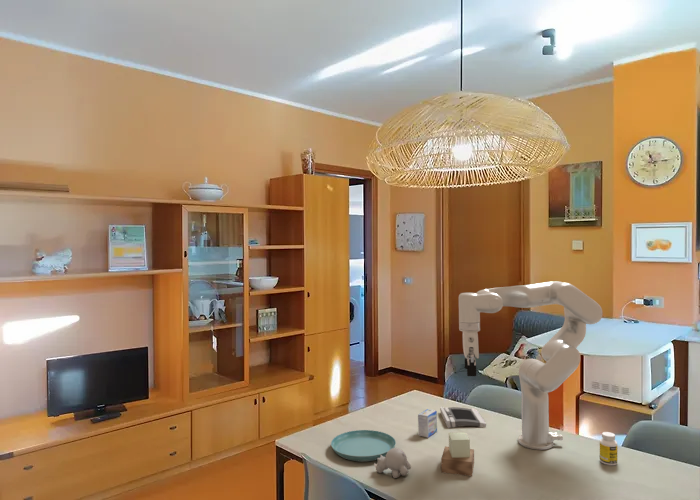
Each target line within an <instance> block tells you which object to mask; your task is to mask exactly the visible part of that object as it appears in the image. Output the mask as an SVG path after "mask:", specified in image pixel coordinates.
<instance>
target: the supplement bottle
mask: <svg viewBox="0 0 700 500" xmlns="http://www.w3.org/2000/svg"><path fill="white" fill-rule="evenodd" d="M601 437H602V438H600V440H599V462H601V463H602V464H604V465H605V466H616V465H617V464H618V442H617V440H616V434H615V433H613V432H610V431H603V432H602V433H601Z"/></svg>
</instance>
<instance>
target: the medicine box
mask: <svg viewBox="0 0 700 500" xmlns="http://www.w3.org/2000/svg"><path fill="white" fill-rule="evenodd" d="M417 427H418V429H417V430H418V436H420V437H422V438H423V437H424V438H428V439H429V438H430V437H432V435H434V434H436V433H437V432H438V413H437V410H435V409H431V408H427V409H425V410H423V411H422V412H420V413H419V414H417ZM435 432H436V433H435Z"/></svg>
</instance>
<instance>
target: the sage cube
mask: <svg viewBox="0 0 700 500" xmlns="http://www.w3.org/2000/svg"><path fill="white" fill-rule="evenodd" d="M470 442H471V439H470V437H469V436H468V434H467V432H448V447H449V451H450V454H451V456H452V458H455V457H470V449H471V447H470V445H471V443H470Z"/></svg>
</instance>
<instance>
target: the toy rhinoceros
mask: <svg viewBox="0 0 700 500" xmlns="http://www.w3.org/2000/svg"><path fill="white" fill-rule="evenodd" d="M407 459H408V457H407V455H406V453H405V451H404V450H402V449H401V448H398V447H394V448H392V449H390V450H389V451H388V452H387V454H386V456H385V457H383V456H382V455H381V454H380V458H377V460H376V461H377V463H375V462H374V463H373V465H374V467H375V471H376V472H377V473H379V474H382V473H383V472H384V471H386V470H388V469H390V471H391V475H392V477H393V478H394V479H396V478H399V477H400V476H406V475H408V474H409V470H411V469H412V466H411V464H410V462H409V461H408V460H407Z"/></svg>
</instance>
